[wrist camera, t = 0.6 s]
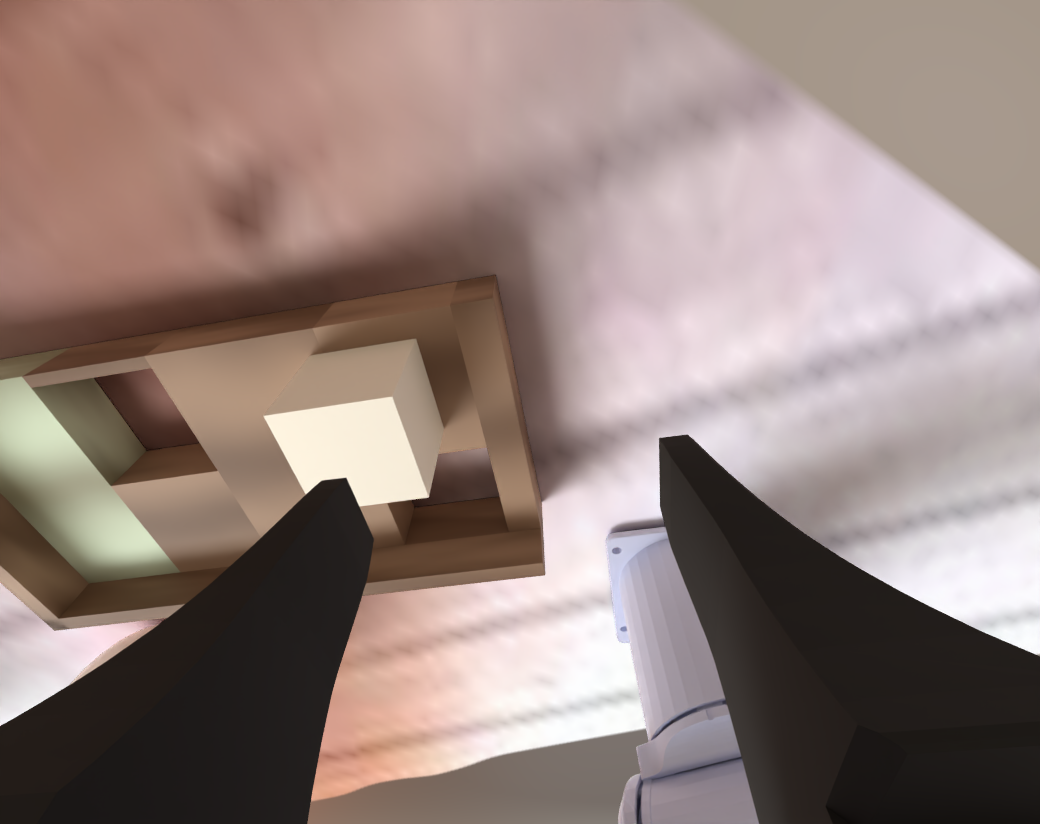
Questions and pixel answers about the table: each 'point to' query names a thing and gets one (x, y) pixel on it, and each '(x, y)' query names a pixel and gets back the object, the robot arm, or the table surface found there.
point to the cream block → (361, 422)
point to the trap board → (246, 458)
